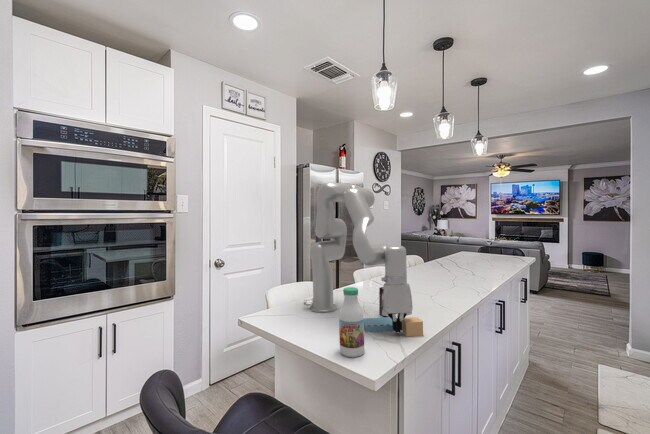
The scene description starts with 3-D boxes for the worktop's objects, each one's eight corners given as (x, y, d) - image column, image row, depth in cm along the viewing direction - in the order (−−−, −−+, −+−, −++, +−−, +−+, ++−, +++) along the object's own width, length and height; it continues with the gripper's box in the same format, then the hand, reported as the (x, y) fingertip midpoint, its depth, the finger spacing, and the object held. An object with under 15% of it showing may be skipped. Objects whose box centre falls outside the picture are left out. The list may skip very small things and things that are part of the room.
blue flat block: (366, 332, 108) (366, 325, 108) (361, 323, 117) (361, 317, 117) (403, 330, 109) (403, 324, 109) (396, 321, 118) (396, 316, 118)
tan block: (406, 336, 103) (406, 322, 103) (401, 331, 108) (401, 317, 108) (423, 335, 103) (422, 321, 103) (417, 330, 108) (417, 317, 108)
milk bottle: (338, 347, 95) (337, 286, 96) (361, 346, 96) (360, 285, 96) (341, 358, 88) (340, 291, 88) (366, 357, 88) (365, 290, 89)
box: (386, 318, 123) (385, 289, 123) (379, 315, 126) (378, 287, 127) (396, 315, 126) (395, 287, 126) (389, 312, 130) (388, 285, 130)
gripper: (378, 283, 101) (379, 336, 101) (420, 281, 102) (421, 334, 102) (373, 278, 109) (374, 328, 108) (412, 277, 110) (413, 326, 109)
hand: (397, 331), depth 105 cm, fingers closed
